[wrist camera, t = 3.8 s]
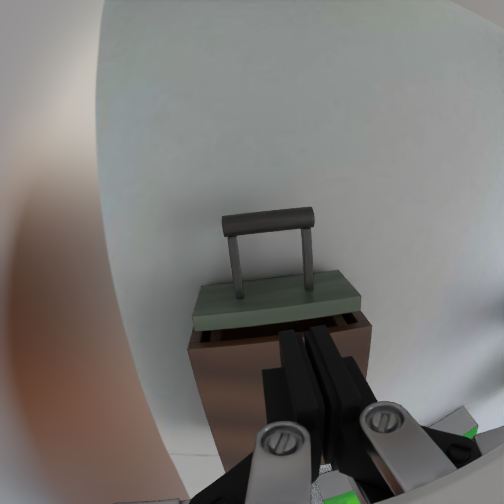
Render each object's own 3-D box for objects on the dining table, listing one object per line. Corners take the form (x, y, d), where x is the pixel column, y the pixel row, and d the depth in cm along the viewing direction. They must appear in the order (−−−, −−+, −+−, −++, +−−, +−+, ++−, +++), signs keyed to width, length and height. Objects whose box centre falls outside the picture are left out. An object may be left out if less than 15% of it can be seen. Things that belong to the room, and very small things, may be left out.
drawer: (189, 214, 23) (175, 228, 18) (335, 198, 23) (361, 208, 18) (228, 416, 29) (227, 453, 24) (333, 402, 29) (346, 437, 24)
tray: (316, 475, 34) (322, 501, 30) (463, 405, 33) (478, 425, 28) (343, 516, 41) (348, 533, 36) (450, 467, 39) (459, 482, 35)
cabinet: (199, 303, 26) (186, 349, 19) (342, 286, 26) (372, 325, 19) (227, 428, 30) (226, 476, 24) (335, 414, 30) (351, 459, 24)
